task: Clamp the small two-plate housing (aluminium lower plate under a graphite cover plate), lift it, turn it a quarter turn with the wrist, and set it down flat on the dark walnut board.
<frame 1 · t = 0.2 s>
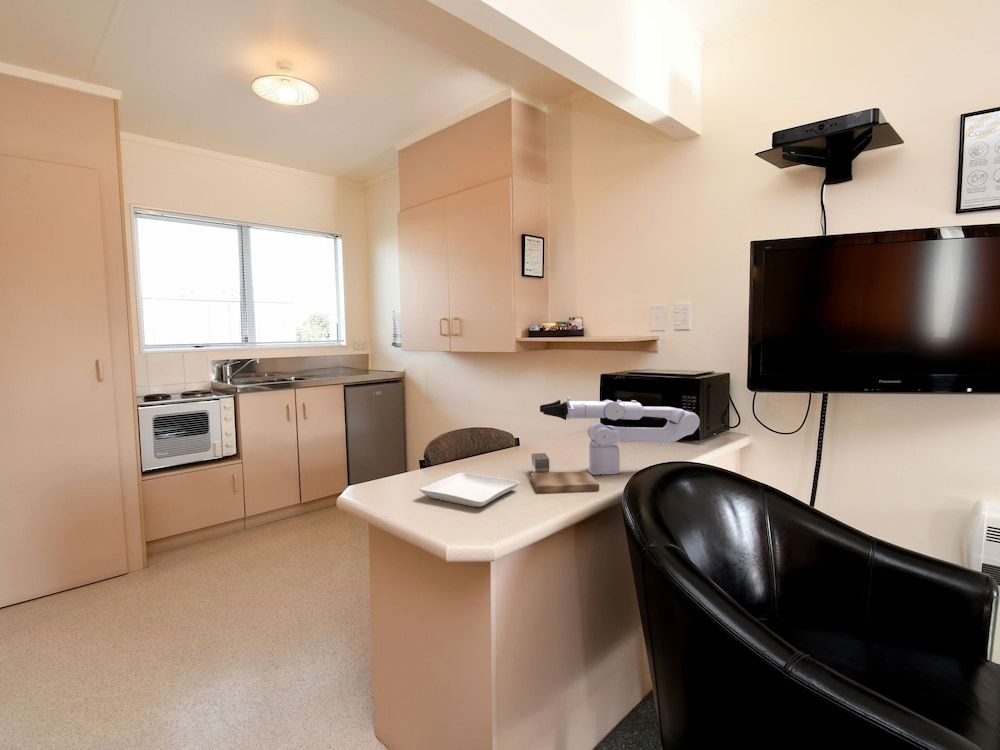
hand: (541, 409, 161), 21 cm above the counter, tool horizontal, fingers open, 7 cm apart
salad plate: (471, 496, 141), on the counter
housing: (540, 474, 162), on the counter
walnut board: (563, 484, 149), on the counter
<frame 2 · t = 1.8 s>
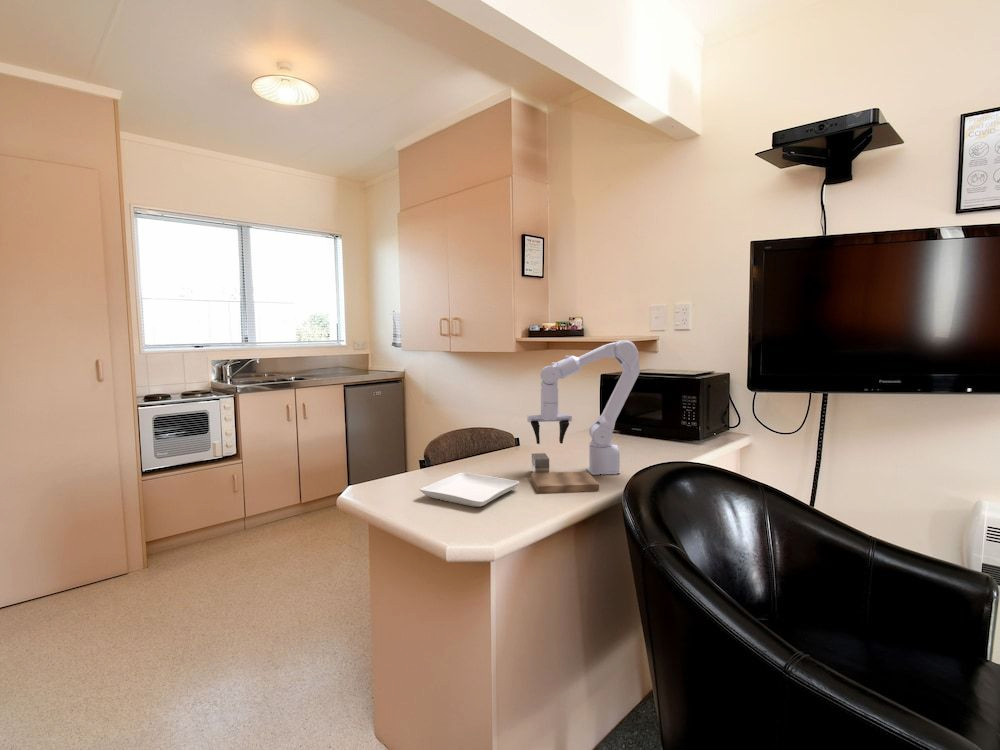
hand: (549, 443, 164), 10 cm above the counter, tool pointing down, fingers open, 7 cm apart
nothing on the counter moved.
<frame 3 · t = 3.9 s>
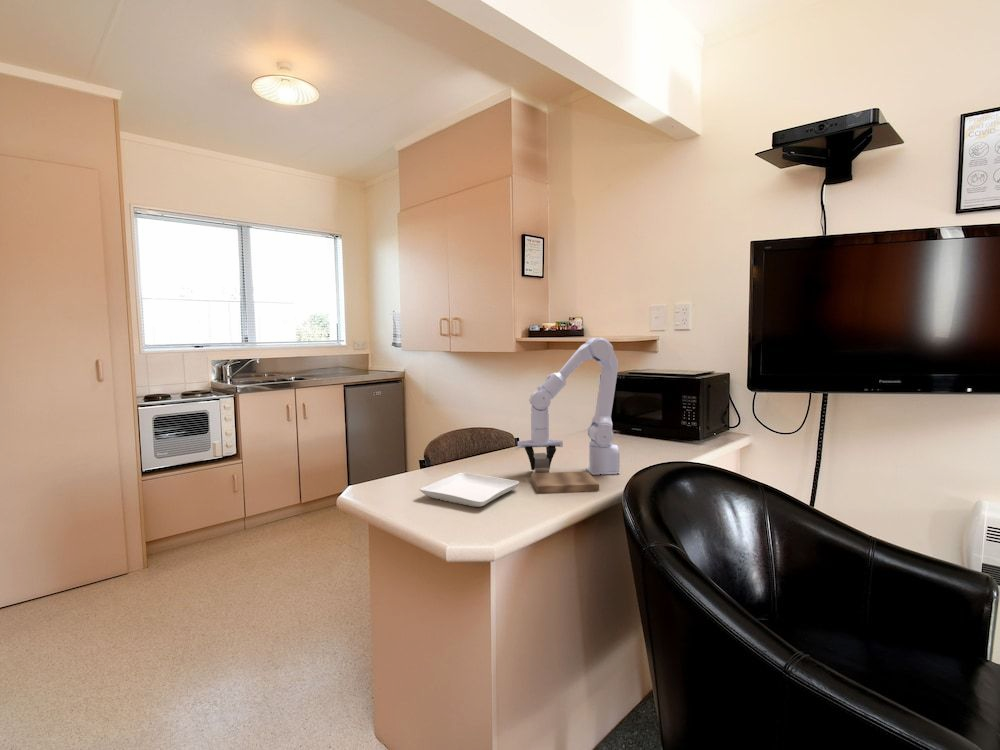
hand: (540, 469, 162), 2 cm above the counter, tool pointing down, fingers closed on housing, 4 cm apart
housing: (540, 473, 162), on the counter, touching gripper
everything else where it was.
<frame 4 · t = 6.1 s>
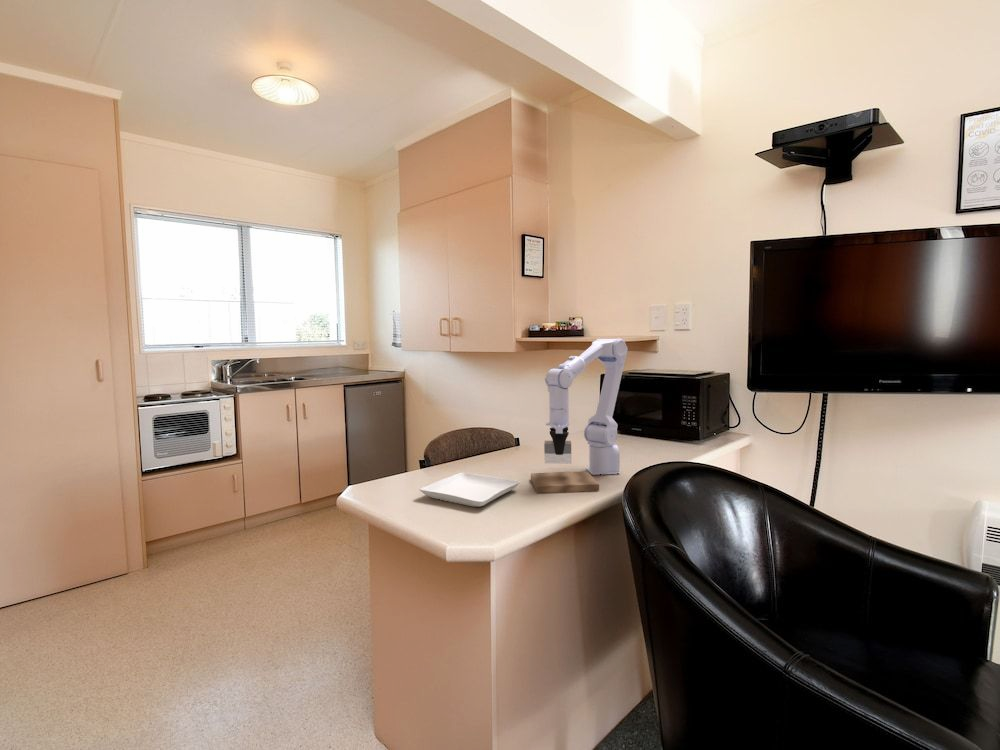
hand: (559, 452, 151), 9 cm above the counter, tool pointing down, fingers closed on housing, 4 cm apart
housing: (557, 461, 151), point 7 cm above the counter, touching gripper
everything else where it was.
when the fingers open (5 cm above the counter, at t = 8.1 s): housing stays where it is, resting on walnut board.
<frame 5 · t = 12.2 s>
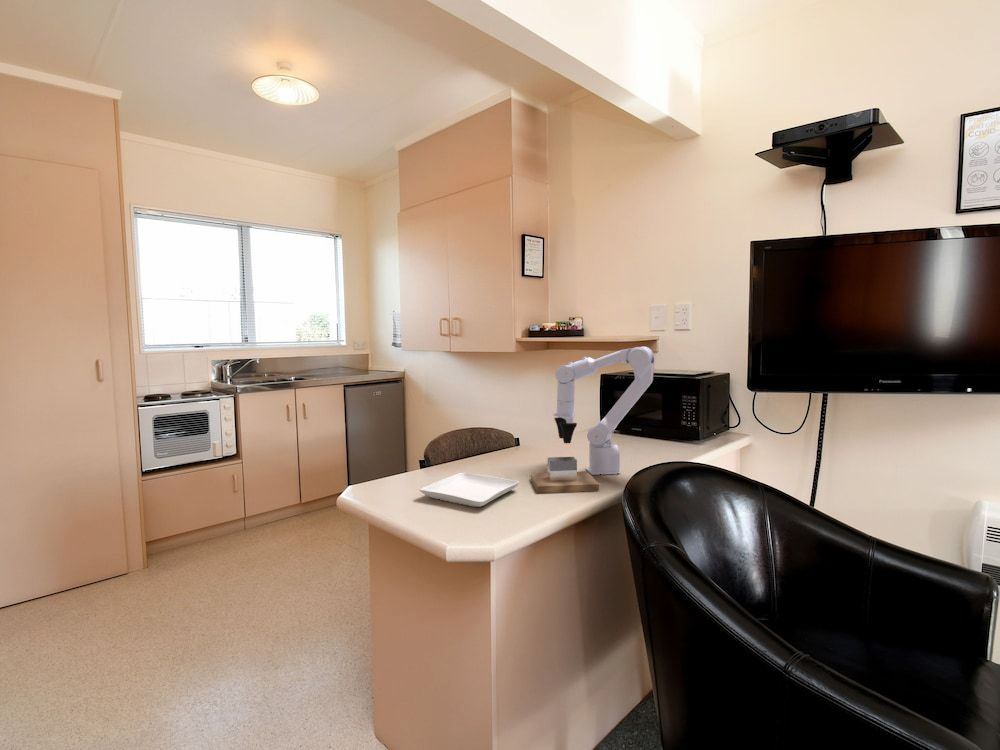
hand: (564, 440, 168), 9 cm above the counter, tool pointing down, fingers open, 7 cm apart
housing: (562, 478, 149), point 2 cm above the counter, touching walnut board
everything else where it was.
at the end: housing inside the target area on the walnut board (0.4 cm from its centre), point 2.0 cm above the walnut board's base; housing tilted 0°; the gripper is holding nothing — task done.
